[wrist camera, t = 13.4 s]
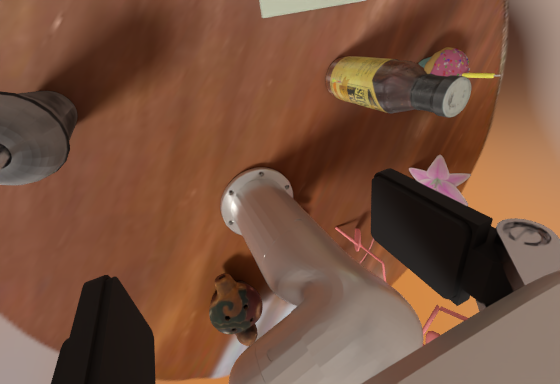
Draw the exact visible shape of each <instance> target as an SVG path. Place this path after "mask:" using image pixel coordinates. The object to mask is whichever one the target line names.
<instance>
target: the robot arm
mask: <svg viewBox="0 0 560 384" xmlns="http://www.w3.org/2000/svg"><path fill="white" fill-rule="evenodd" d="M260 172H261V173H260ZM230 190H231V191H230ZM221 214H222V217H223V219H224V222H225V223H226V225H227V226H228V227H229V228H230V229H231V230H232V231H234V232H235V233H237V234H240V235H243V237H244V239H245V241H246V243H247V245H248V247H249V249H250V251H251V253H252V255H253V257H254V259H255V261H256V263H257V265H258V267H259V269H260V271H261V272H262V274H263V276H264V278H265V280H266V282H267V284H268V286H269V287H270V289H271V290H272V291H273V292H274V293H275V294H276V295H277V296H278V297H280V298H281V299H282V300H284V301H286V302H288V303H290V304H293V305H296V306H297V307H296V308H295V309H294V310H293V311H291V313H290V314H289V315H288V316H287V317H285V318H284V319H283V320H282V321H280V322H279V323H278V324H277V325H275V326H274V327H273V328H272V329H270V330H269V331H268V332H267V333H265V334H264V335H263V336H262V337H260V338H259V339H258V340H257V341H255V342H254V343H253V344H252V345H251V346H249V347H248V348H247V349H246V350H245V351H244V352H243V353H242V354H241V355H240V356H239V358H238V359H237V360H236V362H235V363H234V365H233V367H232V370H231V373H230V377H229V384H560V239H559V238H558V236H557V235H556V234H555V233H554V232H553V231H552V230H550V229H549V228H547V227H545V226H544V225H541V224H539V223H536V222H533V221H529V220H524V219H506V220H502V221H501V222H499V223H498V225H497V227H496V229H495V228H494V227H492V226H491V223H492V218H490V217H488V216H486V215H484V214H482V213H480V212H478V211H476V210H474V209H472V208H470V207H468V206H466V205H464V204H462V203H460V202H458V201H456V200H454V199H452V198H450V197H448V196H446V195H444V194H442V193H440V192H438V191H436V190H434V189H432V188H430V187H428V186H426V185H424V184H422V183H420V182H418V181H416V180H414V179H412V178H409V177H407V176H405V175H403V174H401V173H399V172H397V171H395V170H393V169H386V170H383V171H381V172H378V173H376V174H375V176H374V178H373V179H372V194H371V234H372V237H373V238H374V240H375V241H377V242H378V243H379V244H380V245H381V246H382V247H384V248H385V249H386V250H387V251H388V252H390V253H391V254H392V255H393V256H394V257H396V258H397V259H398V260H399V261H400V262H401V263H403V264H404V265H405V266H406V267H407V268H409V269H410V270H411V271H412V272H413V273H415V274H416V275H417V276H418V277H419V278H420V279H422V280H423V281H424V282H425V283H426V284H428V285H429V286H430V287H431V288H432V289H433V290H435V291H436V292H437V293H438V294H440V295H441V296H442V297H443V298H445V299H450V300H451V301H452V302H453V303H454V304H456V305H457V306H458V305H460V304H461V303H463V302H465V301H467V300H468V299H469V297H470V295H471V296H472V297H473V298H475V299H476V302H477V305H478V308H479V311H480V312H479V313H477V314H475V315H473V316H472V317H470V318H468V319H467V320H465V321H463V322H462V323H460V324H458V325H457V326H455V327H454V328H452V329H450V330H449V331H447V332H445V333H444V334H442V335H440V336H439V337H437V338H435V339H434V340H432V341H430V342H429V343H427V344H426V345H424V346H422V345H423V329H422V326H421V323H420V320H419V318H418V316H417V314H416V313H415V311H414V309H413V308H412V307H411V305H410V304H409V303H408V302H407V301H406V300H405V298H403V297H402V296H401V294H400V293H399V292H397V291H396V290H395V289H394V288H393V287H391V286H390V285H389V284H388V283H386V282H385V281H384V280H382V279H381V278H379V277H378V276H376V275H375V274H374V273H372V272H371V271H369V270H368V269H367V268H365V267H364V266H362V265H361V264H360V263H358V262H357V261H356V260H355V259H353V258H352V257H351V256H350V255H349V254H348V253H346V252H345V251H344V250H343V249H342V248H341V247H340V246H339V245H338V244H337V243H336V242H335V241H334V240H333V239H332V238H331V237H330V236H329V235H328V234H327V233H326V232H325V231H324V230H323V229H322V228H321V227H320V226H319V225H318V224H317V223H316V222H315V221H314V220H313V219H312V218H311V217H310V215H309V214H308V213H307V212H306V211H305V210H304V209H303V208H302V207H301V206H300V205H299V204H298V203H297V202H296V201H295V200H294V199H293V190H292V187H291V185H290V183H289V181H288V180H287V179H286V178H285V176H283V175H282V174H281V173H280V172H278V171H276V170H274V169H271V168H264V167H260V168H253V169H250V170H247V171H245V172H243V173H241V174H239V175H238V176H237V177H235V178H234V179H233V180H232V181H231V182H230V183H229V184H228V186H227V187H226V189H225V191H224V193H223V195H222V199H221ZM51 384H155V353H154V336H153V333H152V330H151V328H150V327H149V325H148V324H147V322H146V321H145V319H144V318H143V316H142V314H141V313H140V311H139V310H138V308H137V307H136V305H135V304H134V302H133V301H132V299H131V298H130V296H129V294H128V293H127V291H126V290H125V288H124V287H123V285H122V284H121V282H120V281H119V279H118V278H117V277H112V278H110V277H109V276H108V275H104V276H101V277H99V278H96V279H93V280H91V281H88V282H86V283H84V285H83V288H82V292H81V296H80V299H79V303H78V307H77V311H76V315H75V318H74V322H73V326H72V330H71V334H70V337H69V338H68V339H66V341H65V342H64V343H63V345H62V347H61V350H60V354H59V357H58V361H57V365H56V368H55V371H54V375H53V378H52V382H51Z"/></svg>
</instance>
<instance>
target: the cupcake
mask: <svg viewBox="0 0 560 384" xmlns="http://www.w3.org/2000/svg"><path fill="white" fill-rule="evenodd" d="M468 63H469V61H468V58H467V56H466V55H465V53H463V52H462V51H461V50H458V49H456V48H451V47H447V48H444V49H442V50H440V51H438V52H436V53H435V54H434V55H433V56H432V57H429V58H426V59H423V60H422V61H420V62H419V63H418V64H419V65H420V66H422V67H423V68H424V70H425V71H426V73H427V74H434V75H438V76H451V75H456V76H465V77H466V78H467V77H469V78H494V76H501V75H495V74H494V73H469V70H470V68H468V67H469V65H468Z"/></svg>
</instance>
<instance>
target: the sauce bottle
mask: <svg viewBox="0 0 560 384" xmlns="http://www.w3.org/2000/svg"><path fill="white" fill-rule="evenodd" d="M326 86H327V89H328V91H329V92H330V94H332V95H333V96H334V97H337V98H338V99H340V100H343V101H347V102H351V103H354V104H358V105H361V106H365V107H368V108H372V109H376V110H379V111H383V112H386V113H397V112H403V111H409V110H415V109H416V110H425V111H429V112H433V113H435V114H436V115H438V116H443V117H454V116H456V115H457V114H459V113H460V112H461V111H462V110H463V109H464V107H465V106H466V104H467V102H468V100H469V97H470V94H471V83H470V80H469V79H468V78H466V77H465V76H456V75H451V76H438V75H434V74H427V73H426V71H425V70H424V68H423V67H422V66H420V65H419V64H418V63H414V62H411V61H400V60H397V59H386V58H371V57H356V56H348V57H342V58H338V59H336V60H335V61H334V62H332V64H331V65H330V66H329V69H328V71H327V74H326Z"/></svg>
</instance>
